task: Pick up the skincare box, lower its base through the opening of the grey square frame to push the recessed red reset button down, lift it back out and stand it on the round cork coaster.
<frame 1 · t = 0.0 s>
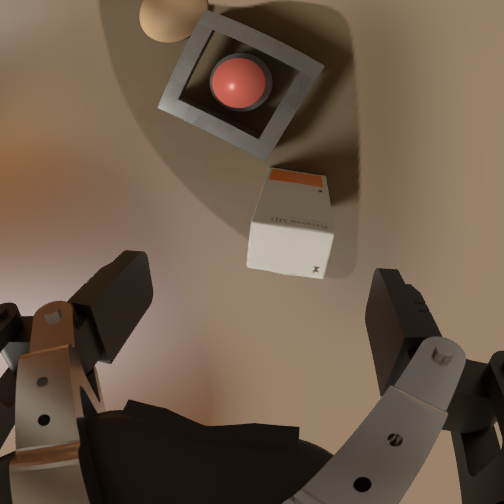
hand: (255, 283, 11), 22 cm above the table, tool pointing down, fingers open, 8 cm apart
skincare box: (294, 187, 32), on the table
button: (239, 82, 25), point 2 cm above the table, slide at 0.0 cm
coaster: (174, 11, 23), on the table
grey square frame: (244, 81, 27), on the table
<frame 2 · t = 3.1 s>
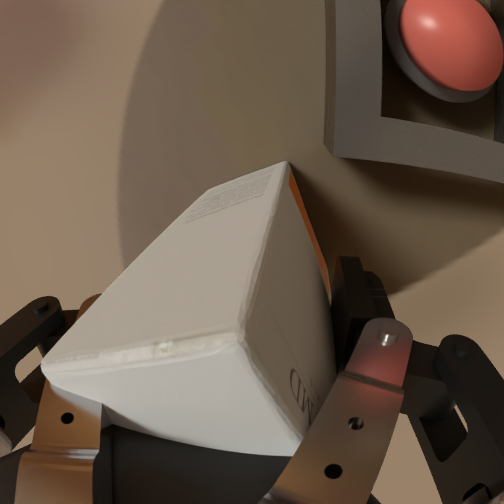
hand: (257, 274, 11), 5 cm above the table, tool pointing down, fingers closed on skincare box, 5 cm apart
skincare box: (270, 226, 15), on the table, touching gripper
button: (451, 37, 8), point 2 cm above the table, slide at 0.0 cm
grey square frame: (430, 45, 10), on the table
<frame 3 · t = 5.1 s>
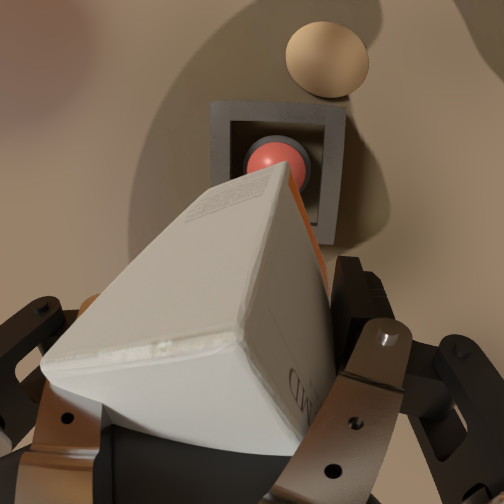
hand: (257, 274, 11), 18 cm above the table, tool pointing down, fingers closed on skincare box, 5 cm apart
skincare box: (269, 225, 15), point 13 cm above the table, touching gripper
button: (276, 169, 25), point 2 cm above the table, slide at 0.0 cm
coaster: (327, 59, 22), on the table
grey square frame: (277, 165, 27), on the table
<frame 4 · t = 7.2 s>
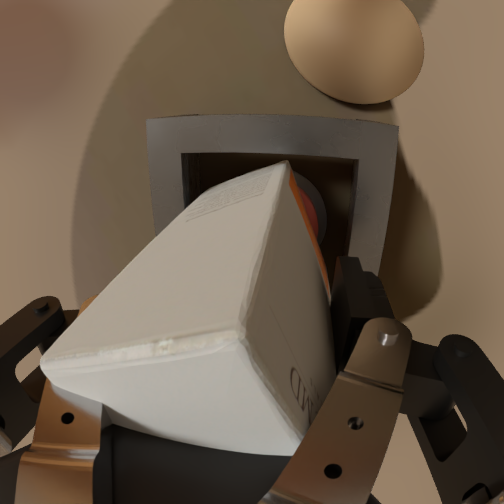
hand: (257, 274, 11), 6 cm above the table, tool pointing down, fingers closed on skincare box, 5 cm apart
skincare box: (270, 225, 15), point 2 cm above the table, touching button, gripper
button: (272, 223, 16), point 1 cm above the table, slide at 1.2 cm, touching skincare box
coaster: (355, 38, 12), on the table
grey square frame: (273, 216, 17), on the table
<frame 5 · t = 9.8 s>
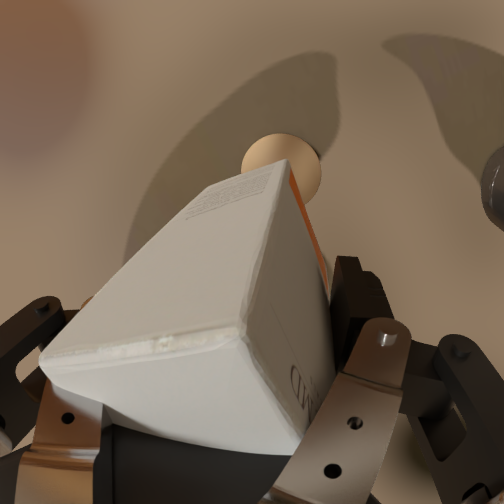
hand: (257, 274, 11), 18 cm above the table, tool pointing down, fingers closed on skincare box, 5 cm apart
skincare box: (269, 224, 15), point 13 cm above the table, touching gripper
coaster: (281, 172, 27), on the table
when the fingers open (6 cm above the table, at t = 12.3 s): skincare box drops 1 cm, resting on coaster.
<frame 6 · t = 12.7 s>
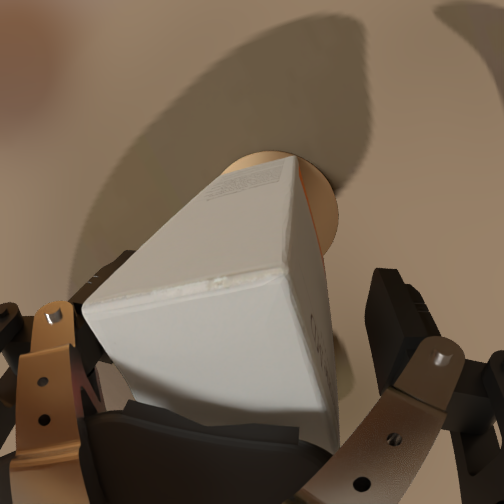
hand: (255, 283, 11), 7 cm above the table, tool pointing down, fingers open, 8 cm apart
skincare box: (273, 214, 17), resting on coaster
coaster: (272, 214, 17), on the table
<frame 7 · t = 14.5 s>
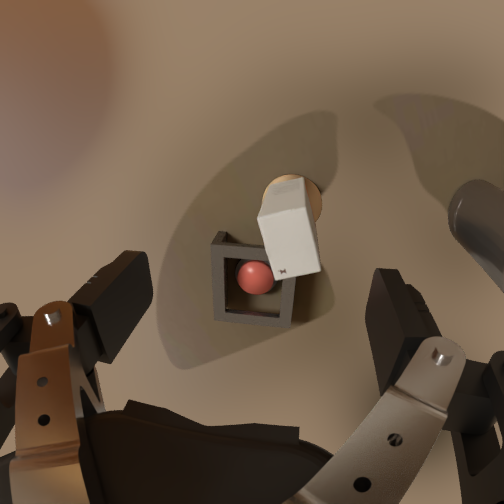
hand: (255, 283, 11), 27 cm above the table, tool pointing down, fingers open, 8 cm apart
skincare box: (293, 202, 36), resting on coaster
button: (255, 276, 41), point 1 cm above the table, slide at 1.3 cm
coaster: (292, 203, 37), on the table
grey square frame: (256, 272, 42), on the table
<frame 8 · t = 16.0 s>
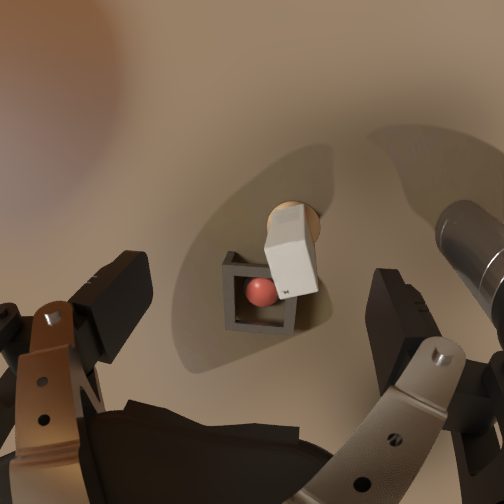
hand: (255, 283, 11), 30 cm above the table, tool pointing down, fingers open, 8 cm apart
skincare box: (294, 226, 41), resting on coaster
button: (262, 290, 45), point 1 cm above the table, slide at 1.3 cm
coaster: (293, 226, 42), on the table
grey square frame: (262, 287, 46), on the table
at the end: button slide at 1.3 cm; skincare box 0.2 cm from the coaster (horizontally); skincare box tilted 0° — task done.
